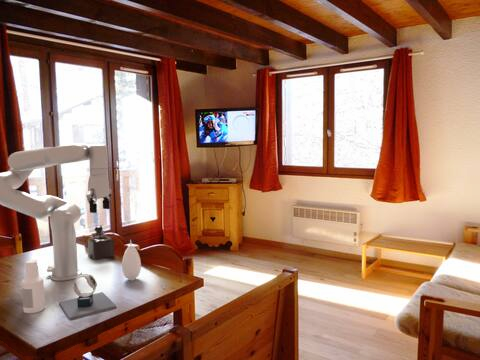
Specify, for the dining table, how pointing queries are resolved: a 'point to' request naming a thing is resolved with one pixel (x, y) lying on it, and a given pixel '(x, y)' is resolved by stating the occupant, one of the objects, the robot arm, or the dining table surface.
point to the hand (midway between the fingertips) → (100, 210)
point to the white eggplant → (131, 263)
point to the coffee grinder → (100, 245)
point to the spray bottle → (33, 289)
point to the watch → (85, 298)
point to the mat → (98, 305)
